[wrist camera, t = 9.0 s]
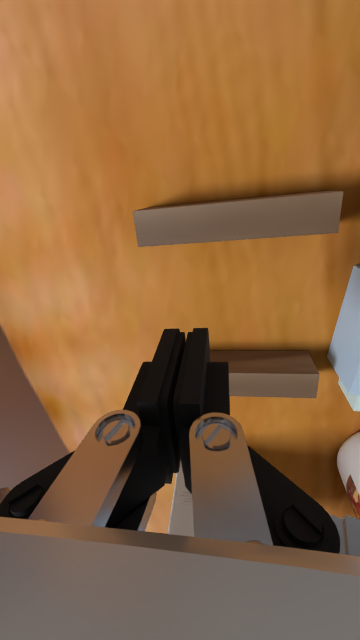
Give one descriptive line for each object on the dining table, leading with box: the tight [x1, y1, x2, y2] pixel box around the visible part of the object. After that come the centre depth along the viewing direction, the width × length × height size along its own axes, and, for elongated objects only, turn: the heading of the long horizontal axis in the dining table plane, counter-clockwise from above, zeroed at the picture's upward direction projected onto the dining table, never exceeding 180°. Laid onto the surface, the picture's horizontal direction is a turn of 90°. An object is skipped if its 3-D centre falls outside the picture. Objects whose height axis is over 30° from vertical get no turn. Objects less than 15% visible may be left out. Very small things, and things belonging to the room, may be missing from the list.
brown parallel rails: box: [133, 191, 343, 398], centre depth 19 cm, size 13×11×3 cm
